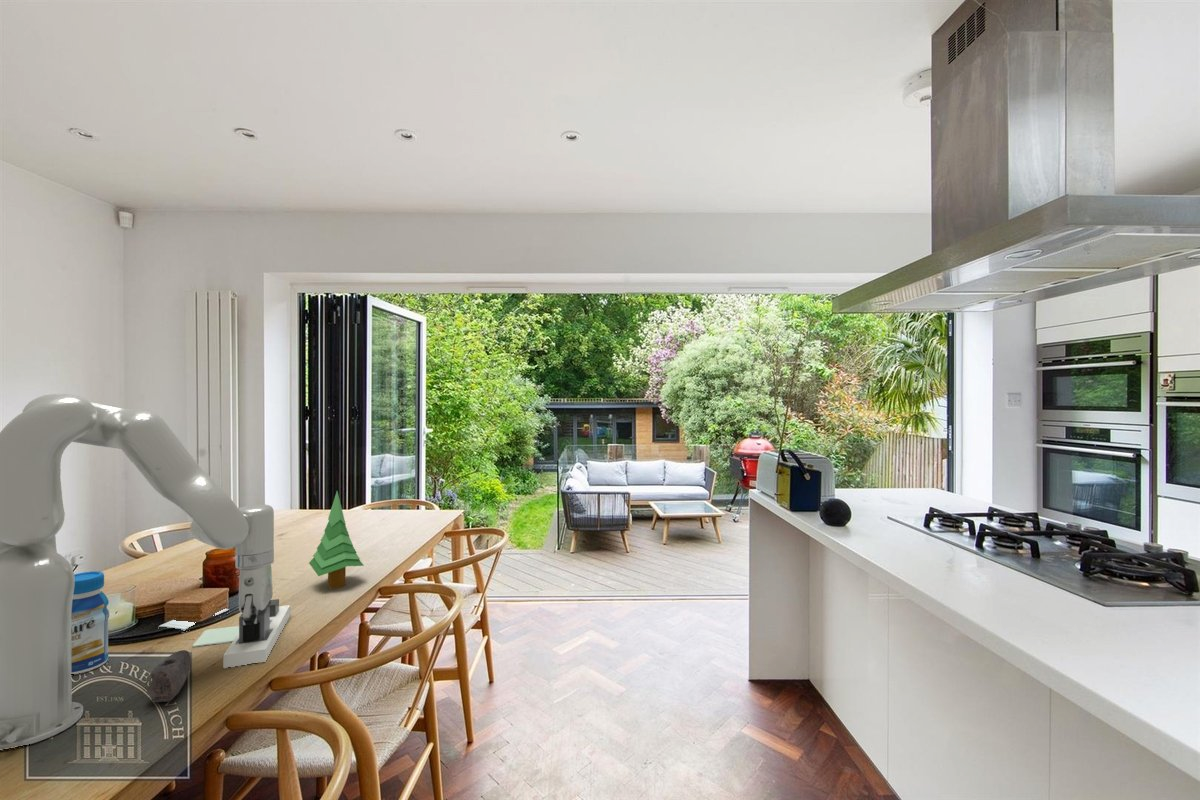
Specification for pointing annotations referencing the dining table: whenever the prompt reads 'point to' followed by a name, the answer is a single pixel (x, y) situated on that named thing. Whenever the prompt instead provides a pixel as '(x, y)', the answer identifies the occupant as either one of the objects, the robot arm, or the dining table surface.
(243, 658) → the power strip
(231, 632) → the mat
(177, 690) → the perforated stone tool
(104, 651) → the supplement bottle
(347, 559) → the decorative tree
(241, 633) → the charger
